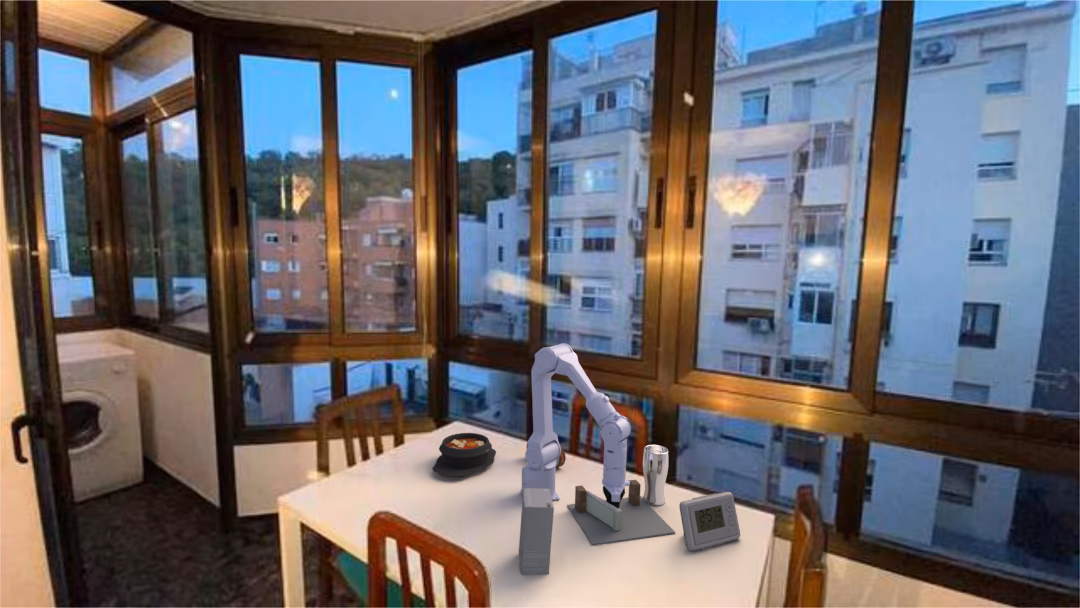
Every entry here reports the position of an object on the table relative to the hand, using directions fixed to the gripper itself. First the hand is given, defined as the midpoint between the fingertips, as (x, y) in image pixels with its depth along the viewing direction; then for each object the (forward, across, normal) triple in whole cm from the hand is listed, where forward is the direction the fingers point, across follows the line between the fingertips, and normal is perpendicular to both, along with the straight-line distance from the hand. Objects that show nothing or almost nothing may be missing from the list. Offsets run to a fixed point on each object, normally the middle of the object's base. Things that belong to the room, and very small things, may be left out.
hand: (612, 514), depth 127 cm
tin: (+2, +32, +20) cm, 38 cm away
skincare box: (+2, -20, +18) cm, 27 cm away
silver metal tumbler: (+2, +12, -12) cm, 18 cm away
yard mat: (+2, +1, -2) cm, 3 cm away
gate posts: (+2, +6, +1) cm, 7 cm away
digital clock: (+2, -6, -23) cm, 24 cm away
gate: (+1, -1, +3) cm, 3 cm away
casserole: (+2, +29, +46) cm, 54 cm away
